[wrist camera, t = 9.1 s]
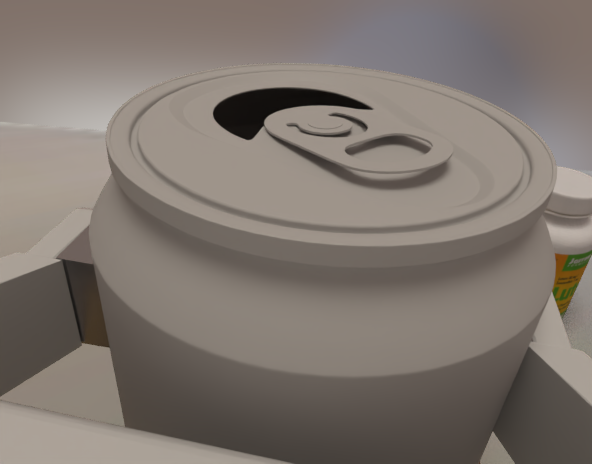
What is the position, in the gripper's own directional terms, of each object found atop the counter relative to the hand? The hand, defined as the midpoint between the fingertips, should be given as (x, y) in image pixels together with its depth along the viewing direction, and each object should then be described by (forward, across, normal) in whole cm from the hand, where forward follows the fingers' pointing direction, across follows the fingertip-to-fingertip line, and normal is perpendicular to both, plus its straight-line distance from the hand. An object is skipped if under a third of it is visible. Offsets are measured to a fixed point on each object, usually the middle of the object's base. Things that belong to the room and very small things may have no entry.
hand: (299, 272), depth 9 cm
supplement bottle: (+22, -12, +17) cm, 30 cm away
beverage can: (-1, 0, +9) cm, 9 cm away
